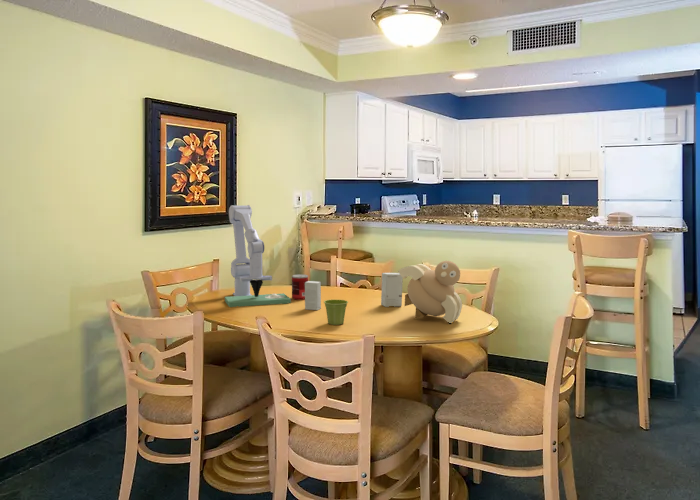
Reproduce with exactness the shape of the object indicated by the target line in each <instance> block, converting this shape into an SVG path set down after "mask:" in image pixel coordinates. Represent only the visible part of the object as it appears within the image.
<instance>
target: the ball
mask: <svg viewBox="0 0 700 500" xmlns="http://www.w3.org/2000/svg"><path fill="white" fill-rule="evenodd" d="M271 294H272V295H271V296H270V298H278V296H277V294H278V293H271Z"/></svg>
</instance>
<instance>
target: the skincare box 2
mask: <svg viewBox="0 0 700 500" xmlns="http://www.w3.org/2000/svg"><path fill="white" fill-rule="evenodd" d="M403 281H404V279H403V278H402V276H401V275H400V274H399V272H382V273H381V293H380V295H381V296H380V299H381V300H380V305H381V306H383V307H385V308H390V307H389V306H394V307H402V306H403V305H402V302H403Z"/></svg>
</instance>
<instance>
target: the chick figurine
mask: <svg viewBox="0 0 700 500" xmlns="http://www.w3.org/2000/svg"><path fill="white" fill-rule="evenodd" d="M397 273H399V274H400V275H401V276H402V278H403V280H404V279H406V278H407V277H410V278H411V279H410V280H409V282H408V284H407V288H406V289H407V294H404V307H407V306H412V305H413V306H414V307H415V313H414V314H415V316H414V319H415V318H416V319H420V318H424V317H426V316H432V317H437V316H438V317H440V316H442V318H443V319H444V320H445V321H446V322H447V323H448V322H449V323H452V322H453V323H454V322H455V321H457V320H458V319H459V317H460V315H461V312H462V309H463V302H462V301H463V300H462V299H461V297H460V295H459V294H458V293H457V292H456V289H455V287H454V285H455V284H457V283H458V281H459V280H460V278H461V270H460V268H459V266H458V265H457V264H456V263H455V262H453V261H450V260H442V261H440V262H438V264H436V266H435V269H431V267H430V266H428V265H426V264H424V263H418V264H415V265H414V264H413V265H408V266H404V267H402V268H400V269H398V270H397ZM449 323H448V324H449ZM453 323H452V324H453Z"/></svg>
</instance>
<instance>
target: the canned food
mask: <svg viewBox="0 0 700 500" xmlns="http://www.w3.org/2000/svg"><path fill="white" fill-rule="evenodd" d="M307 281H309V275H307V274H301V273H300V274H293V275H291V299H292V300H296V301H297V300H299V301H300V300H301V301H303V300H305V282H307Z"/></svg>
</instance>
